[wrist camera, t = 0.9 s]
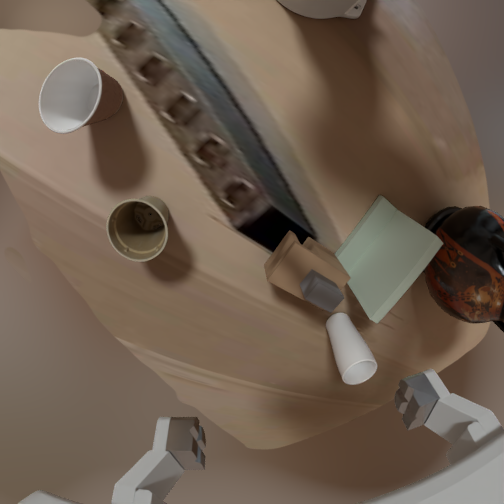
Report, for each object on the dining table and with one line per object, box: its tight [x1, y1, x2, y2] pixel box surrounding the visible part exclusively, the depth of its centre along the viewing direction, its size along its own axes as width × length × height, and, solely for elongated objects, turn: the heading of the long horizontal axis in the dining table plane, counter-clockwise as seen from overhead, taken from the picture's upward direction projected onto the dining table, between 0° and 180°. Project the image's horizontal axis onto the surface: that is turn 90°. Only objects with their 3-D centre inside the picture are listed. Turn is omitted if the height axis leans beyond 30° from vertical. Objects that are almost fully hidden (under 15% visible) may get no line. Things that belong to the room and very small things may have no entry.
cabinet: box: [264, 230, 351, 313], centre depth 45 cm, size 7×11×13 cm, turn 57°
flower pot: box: [106, 196, 169, 262], centre depth 42 cm, size 9×9×9 cm
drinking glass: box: [326, 313, 377, 385], centre depth 51 cm, size 7×7×15 cm
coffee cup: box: [39, 58, 123, 134], centre depth 32 cm, size 10×10×12 cm
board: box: [335, 195, 443, 323], centre depth 44 cm, size 16×6×14 cm, turn 147°
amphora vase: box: [423, 206, 504, 332], centre depth 39 cm, size 22×22×28 cm
